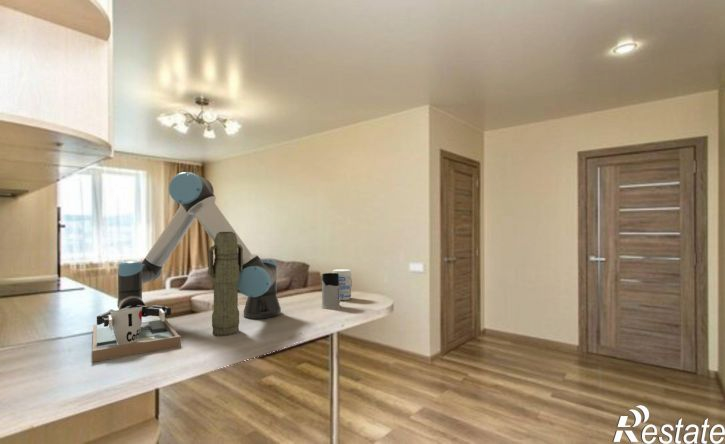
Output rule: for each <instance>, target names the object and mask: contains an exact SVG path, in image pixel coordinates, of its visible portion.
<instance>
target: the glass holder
mask: <svg viewBox="0 0 725 444" xmlns="http://www.w3.org/2000/svg"><path fill="white" fill-rule="evenodd" d="M346 277H347V276H346ZM346 277H344V278H346ZM344 278H343V280H344ZM348 278H350V277H348ZM350 279H351V287H350V289H351V290H352V286H353V281H352V280H353V279H352V277H351V278H350ZM343 280H342V285H343ZM342 285H339V274H338V273H333V272H328V273H327V272H326V273H322V279H321V306H320V307H321V309H324V310H335V309H339V308H341V305H340V303H341V301H342V300H341V299H342V298H344V297H345V296H346V295H347V294H348V293H349V291H350V289H349V291H348V293H347V294H346V295H345V296H343V297H342V298H341V299H340V300H339V286H342Z"/></svg>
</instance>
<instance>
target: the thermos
mask: <svg viewBox="0 0 725 444" xmlns="http://www.w3.org/2000/svg"><path fill="white" fill-rule="evenodd" d="M213 243H214V244H213V245H212V246H210V247H209V249H208V250H207V252H208V254H207V255H208V257H207V258H208V260H207V261H208V262H207V263H208V265H207V268H208V271H207V274H208V276H209V277H211V279H212V280H211V282H212V284H213V310H212V314H211V326H212V335H214V336H216V337H217V336H218V337H226V336H227V337H228V336H233V335H235V334H237V333H239V332H240V329H239V327H240V310H239V307H238V306H239V304H238V303H239V301H238V300H239V298H238V294H239V293H238V290H239V289H238V282H239V275H240V273H242V268H243V248H242V247H241V245H239V244H237V237H236V234H235V233H233V232H219V233H217V234H216V237H215V240H214V242H213ZM237 248H238V261H237Z"/></svg>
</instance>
